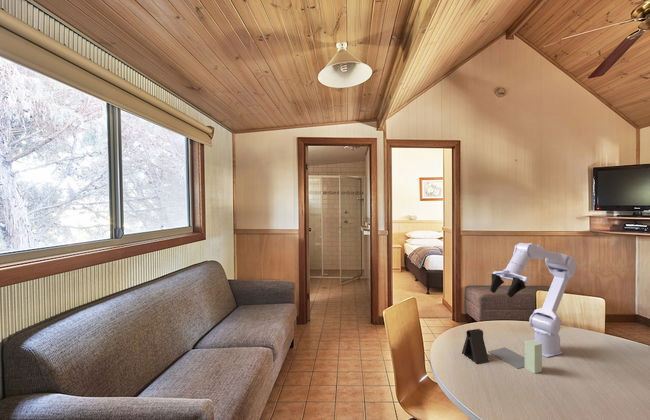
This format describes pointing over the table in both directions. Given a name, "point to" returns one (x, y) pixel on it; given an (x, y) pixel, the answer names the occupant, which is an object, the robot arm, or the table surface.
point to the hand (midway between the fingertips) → (500, 293)
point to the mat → (509, 357)
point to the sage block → (533, 356)
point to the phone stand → (475, 346)
